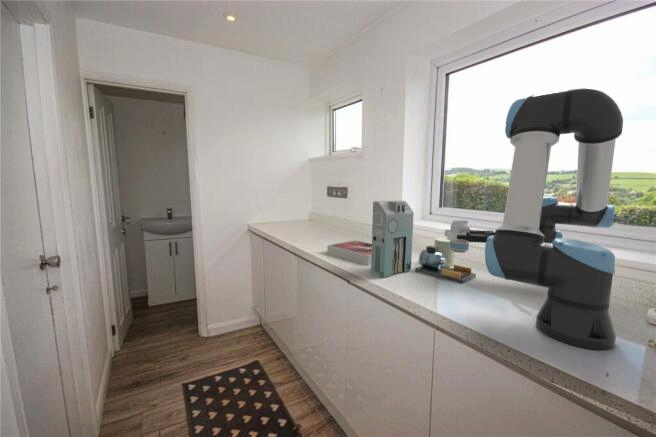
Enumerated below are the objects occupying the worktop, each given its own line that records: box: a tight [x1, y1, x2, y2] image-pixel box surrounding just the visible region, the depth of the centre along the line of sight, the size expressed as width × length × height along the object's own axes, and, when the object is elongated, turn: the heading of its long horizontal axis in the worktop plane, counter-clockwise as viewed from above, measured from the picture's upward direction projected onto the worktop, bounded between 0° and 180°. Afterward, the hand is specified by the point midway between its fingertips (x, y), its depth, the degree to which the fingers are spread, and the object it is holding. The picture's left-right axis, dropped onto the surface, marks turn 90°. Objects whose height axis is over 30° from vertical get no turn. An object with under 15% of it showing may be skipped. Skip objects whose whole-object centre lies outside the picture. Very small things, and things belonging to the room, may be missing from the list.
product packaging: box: [326, 239, 372, 266], centre depth 148 cm, size 22×28×5 cm
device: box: [370, 199, 415, 279], centre depth 119 cm, size 16×8×30 cm, turn 126°
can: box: [434, 237, 456, 267], centre depth 134 cm, size 9×9×12 cm
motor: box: [414, 245, 477, 285], centre depth 118 cm, size 12×20×10 cm, turn 41°
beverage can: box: [450, 220, 471, 254], centre depth 113 cm, size 7×7×12 cm
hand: (446, 234), depth 114 cm, fingers closed on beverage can, 7 cm apart
